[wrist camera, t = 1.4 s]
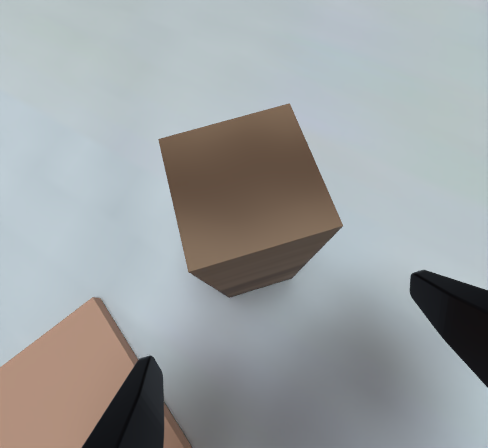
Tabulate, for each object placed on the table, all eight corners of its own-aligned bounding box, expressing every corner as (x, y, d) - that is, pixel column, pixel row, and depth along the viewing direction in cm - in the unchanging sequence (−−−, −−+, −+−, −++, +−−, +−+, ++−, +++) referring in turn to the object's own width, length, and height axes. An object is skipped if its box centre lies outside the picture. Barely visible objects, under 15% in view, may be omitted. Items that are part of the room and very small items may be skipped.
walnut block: (291, 278, 21) (343, 225, 9) (229, 297, 21) (188, 272, 8) (271, 219, 22) (289, 103, 10) (212, 236, 22) (158, 139, 10)
